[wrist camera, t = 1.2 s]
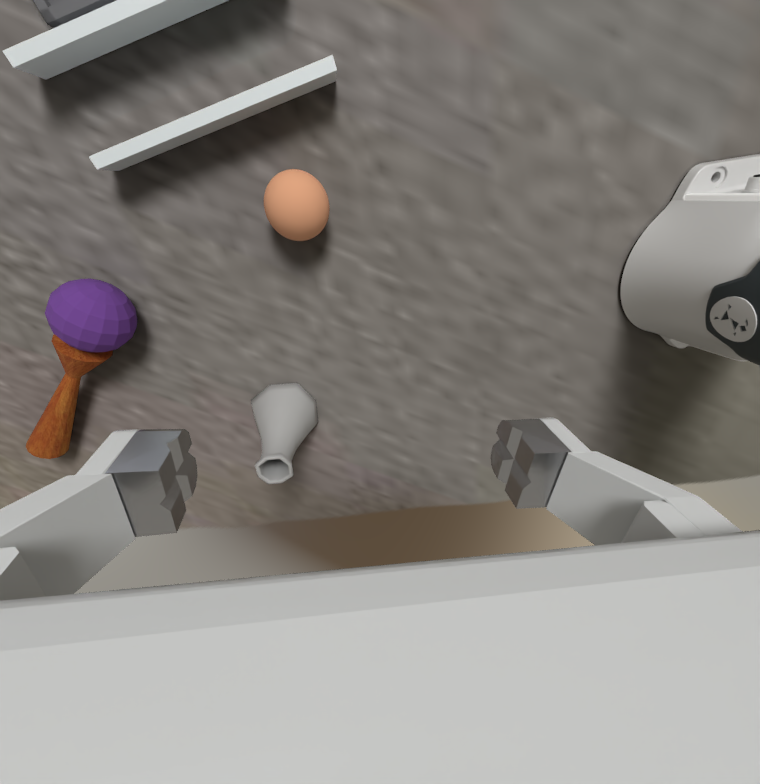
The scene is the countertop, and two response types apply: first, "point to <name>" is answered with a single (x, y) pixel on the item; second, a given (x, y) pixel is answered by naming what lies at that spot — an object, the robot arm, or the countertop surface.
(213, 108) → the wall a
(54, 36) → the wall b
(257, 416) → the flask
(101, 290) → the purple and orange maraca
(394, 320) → the countertop surface
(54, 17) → the gray square tray
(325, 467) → the countertop surface
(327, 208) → the ball
